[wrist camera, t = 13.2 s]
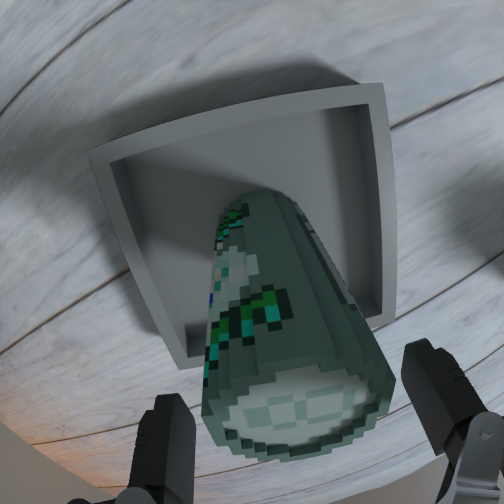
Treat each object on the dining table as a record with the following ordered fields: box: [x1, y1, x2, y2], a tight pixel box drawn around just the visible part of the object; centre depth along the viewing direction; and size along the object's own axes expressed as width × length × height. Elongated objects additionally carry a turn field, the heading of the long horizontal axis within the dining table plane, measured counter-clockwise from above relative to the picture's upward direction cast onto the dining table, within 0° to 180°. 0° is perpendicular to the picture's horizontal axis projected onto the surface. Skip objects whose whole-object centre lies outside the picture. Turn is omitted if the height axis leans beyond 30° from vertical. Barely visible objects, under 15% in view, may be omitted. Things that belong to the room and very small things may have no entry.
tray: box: [87, 83, 397, 370], centre depth 22 cm, size 18×18×4 cm
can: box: [201, 189, 396, 463], centre depth 16 cm, size 6×6×15 cm
